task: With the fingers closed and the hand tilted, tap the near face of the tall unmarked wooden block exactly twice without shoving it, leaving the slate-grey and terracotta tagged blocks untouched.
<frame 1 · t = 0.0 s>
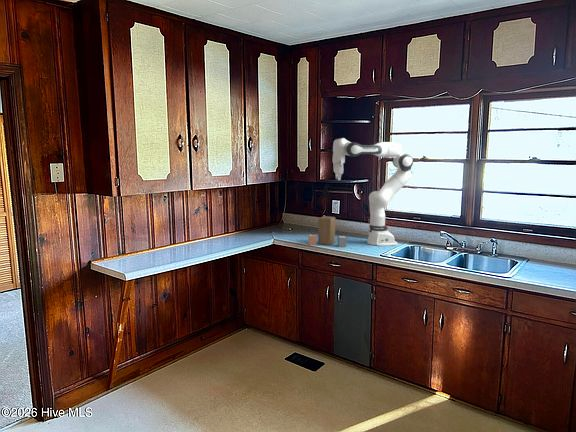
hand: (338, 179, 309), 48 cm above the worktop, tool pointing down, fingers open, 8 cm apart
wooden block: (326, 243, 317), on the worktop
terracotta block: (312, 244, 313), on the worktop
slate block: (341, 246, 308), on the worktop
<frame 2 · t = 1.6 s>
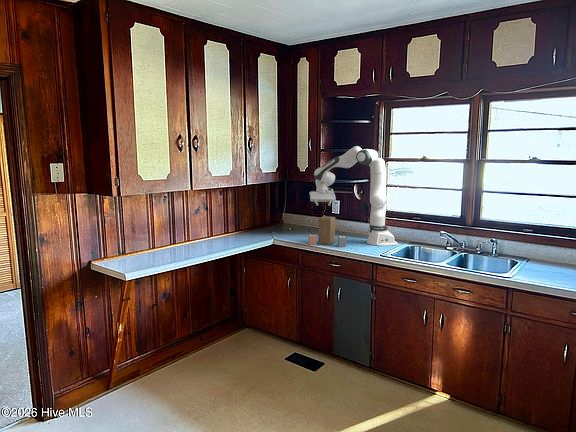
hand: (323, 205, 332), 26 cm above the worktop, tool tilted 45°, fingers open, 8 cm apart
nothing on the worktop moved.
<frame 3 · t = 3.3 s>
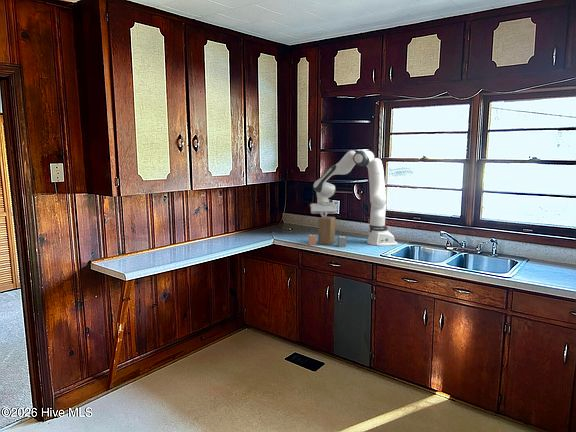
hand: (324, 217, 329), 17 cm above the worktop, tool tilted 45°, fingers closed
nothing on the worktop moved.
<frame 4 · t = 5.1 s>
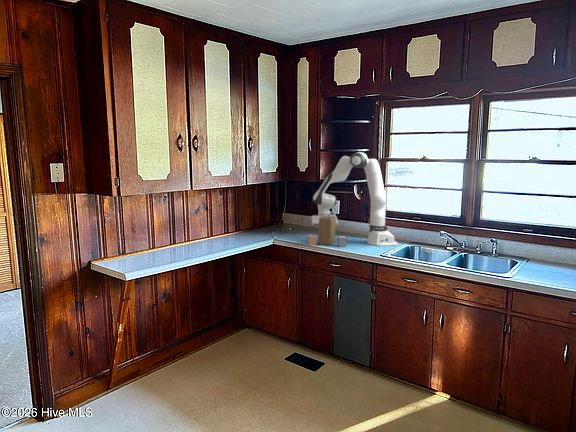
hand: (325, 230, 321), 9 cm above the worktop, tool tilted 45°, fingers closed
wooden block: (326, 244, 316), on the worktop, touching gripper
everything else where it was.
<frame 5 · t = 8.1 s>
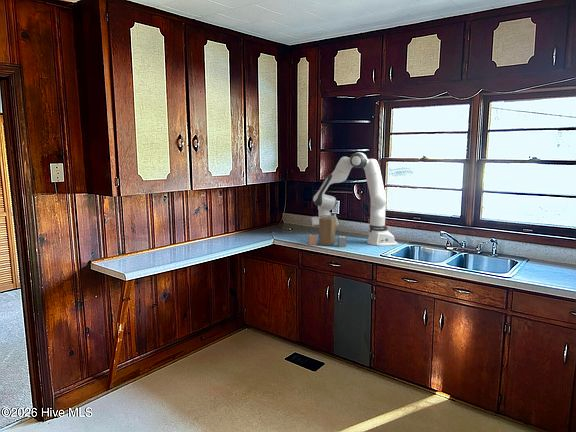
hand: (325, 231, 320), 8 cm above the worktop, tool tilted 45°, fingers closed
wooden block: (326, 244, 314), on the worktop, touching gripper
everything else where it was.
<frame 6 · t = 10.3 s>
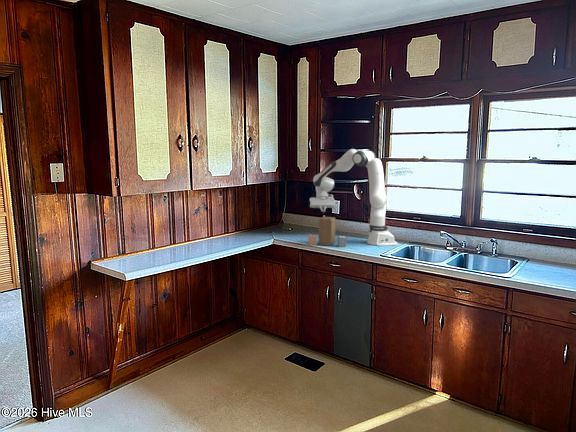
hand: (323, 211, 333), 21 cm above the worktop, tool tilted 45°, fingers closed
wooden block: (326, 244, 314), on the worktop
everything else where it was.
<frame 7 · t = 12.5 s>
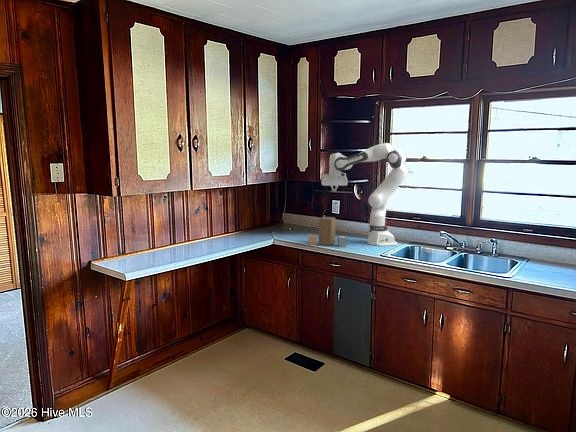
hand: (334, 191, 331), 37 cm above the worktop, tool pointing down, fingers closed
nothing on the worktop moved.
at the end: wooden block moved 2.2 cm from its start; wooden block tilted 0°; terracotta block moved 0.1 cm from its start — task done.
